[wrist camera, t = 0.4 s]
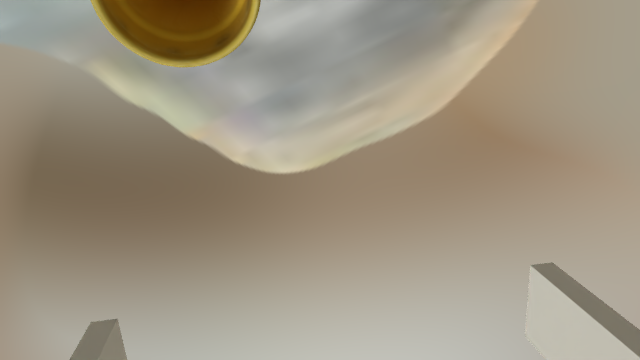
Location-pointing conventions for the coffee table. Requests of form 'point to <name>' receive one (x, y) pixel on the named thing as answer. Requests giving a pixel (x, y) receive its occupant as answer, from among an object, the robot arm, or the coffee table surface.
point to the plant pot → (179, 28)
